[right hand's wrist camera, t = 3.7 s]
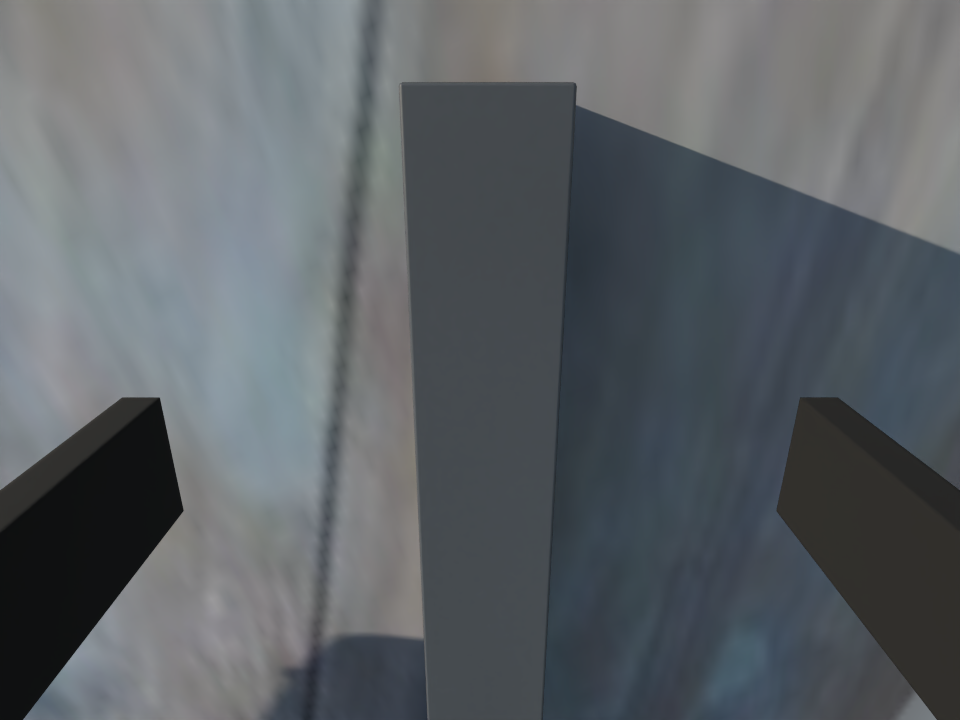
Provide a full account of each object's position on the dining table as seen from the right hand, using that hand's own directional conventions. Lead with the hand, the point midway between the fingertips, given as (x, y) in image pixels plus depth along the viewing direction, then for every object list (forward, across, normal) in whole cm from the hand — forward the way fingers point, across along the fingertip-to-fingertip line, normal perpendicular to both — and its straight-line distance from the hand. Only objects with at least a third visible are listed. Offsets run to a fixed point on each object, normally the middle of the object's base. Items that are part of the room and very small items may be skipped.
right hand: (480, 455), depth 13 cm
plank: (+13, 0, -19) cm, 23 cm away
